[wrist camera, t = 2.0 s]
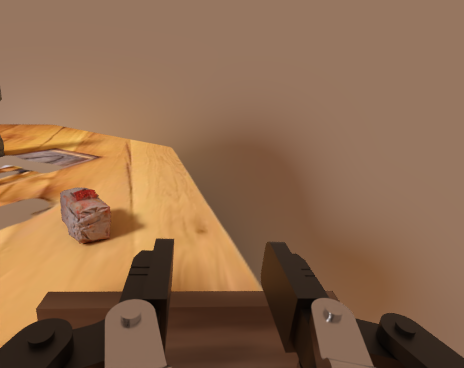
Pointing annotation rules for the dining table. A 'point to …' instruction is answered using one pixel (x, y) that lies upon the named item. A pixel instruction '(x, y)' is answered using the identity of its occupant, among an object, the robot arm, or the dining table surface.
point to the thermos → (0, 142)
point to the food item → (85, 215)
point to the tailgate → (194, 326)
